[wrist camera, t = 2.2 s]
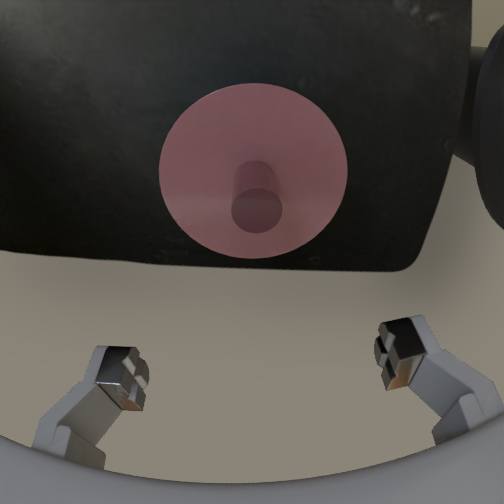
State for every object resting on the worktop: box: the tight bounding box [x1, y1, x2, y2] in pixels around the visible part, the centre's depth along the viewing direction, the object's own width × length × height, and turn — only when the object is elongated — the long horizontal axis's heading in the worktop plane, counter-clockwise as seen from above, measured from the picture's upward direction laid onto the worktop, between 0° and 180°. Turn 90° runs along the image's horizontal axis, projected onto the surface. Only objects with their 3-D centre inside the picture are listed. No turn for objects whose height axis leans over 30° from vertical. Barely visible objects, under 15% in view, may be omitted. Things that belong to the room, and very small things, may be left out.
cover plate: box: [159, 83, 347, 258], centre depth 19 cm, size 13×13×6 cm
